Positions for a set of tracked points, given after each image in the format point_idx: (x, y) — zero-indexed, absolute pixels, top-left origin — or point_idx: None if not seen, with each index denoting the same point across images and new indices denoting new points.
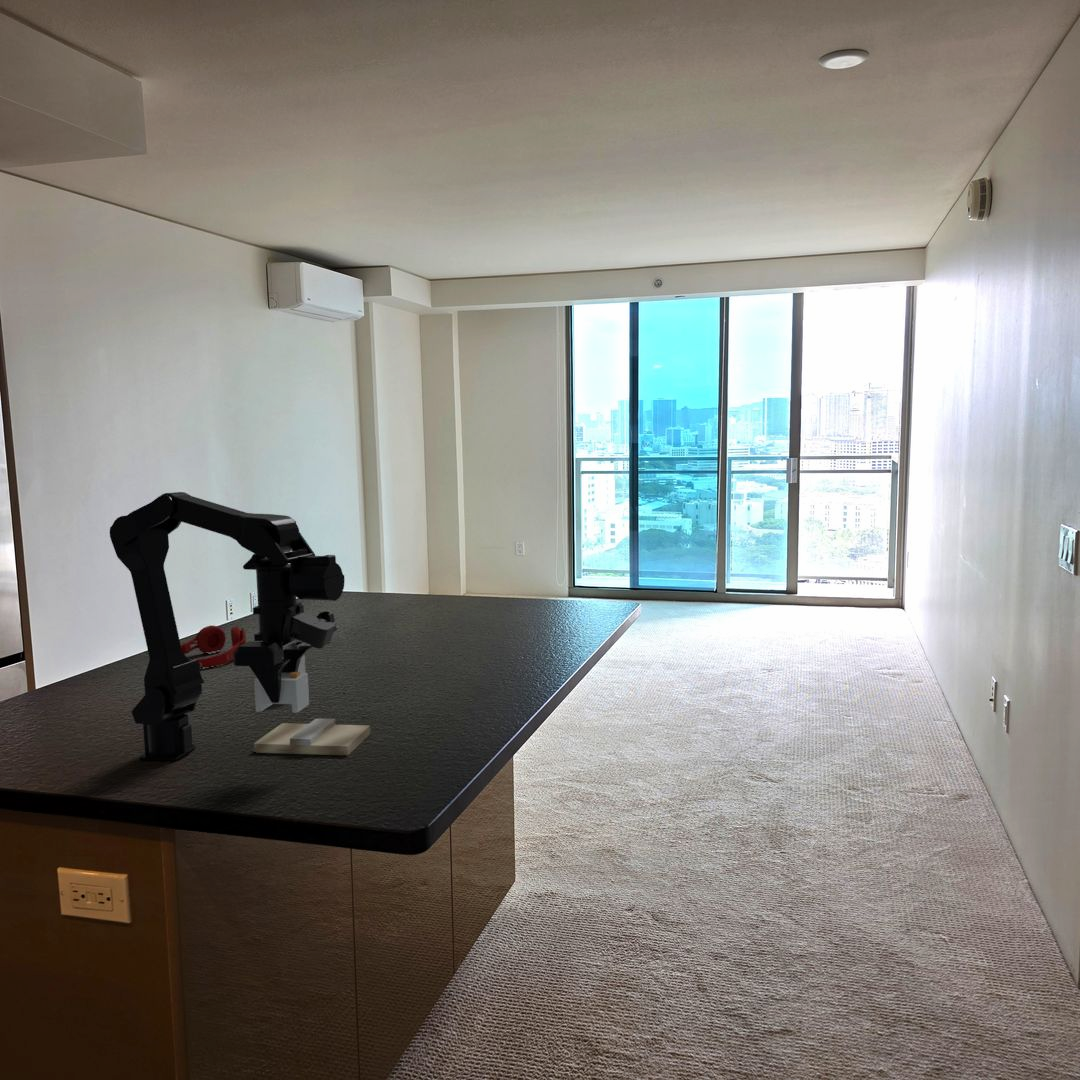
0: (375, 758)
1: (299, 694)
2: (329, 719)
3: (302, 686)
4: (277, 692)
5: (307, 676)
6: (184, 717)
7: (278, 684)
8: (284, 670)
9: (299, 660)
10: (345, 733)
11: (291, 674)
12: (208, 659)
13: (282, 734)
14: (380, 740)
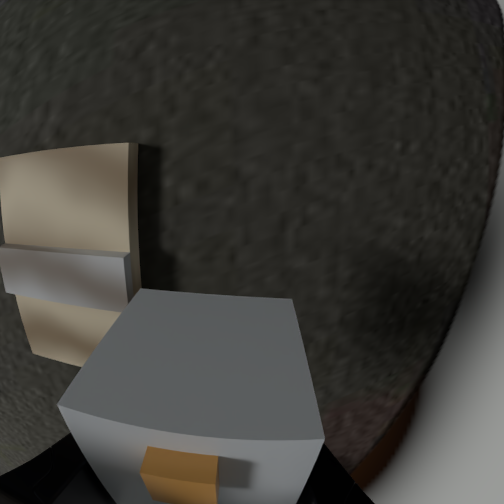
0: (159, 65)
1: (257, 349)
2: (2, 259)
3: (193, 371)
4: (325, 445)
5: (74, 388)
6: None
7: (346, 478)
8: (99, 502)
9: (8, 487)
10: (42, 193)
11: (217, 497)
12: None
13: (80, 339)
14: (42, 112)
